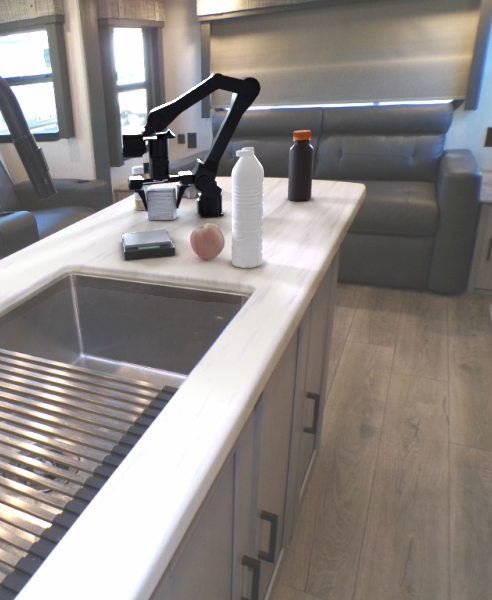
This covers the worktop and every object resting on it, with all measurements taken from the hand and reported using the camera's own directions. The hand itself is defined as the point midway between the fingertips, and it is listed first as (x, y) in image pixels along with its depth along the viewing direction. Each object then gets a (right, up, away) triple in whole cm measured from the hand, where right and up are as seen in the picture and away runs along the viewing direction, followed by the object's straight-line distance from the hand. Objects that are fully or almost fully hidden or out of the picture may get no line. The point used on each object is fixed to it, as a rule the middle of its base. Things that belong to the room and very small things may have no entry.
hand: (162, 209), depth 158 cm
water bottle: (+15, -19, -40) cm, 47 cm away
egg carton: (+13, +9, +26) cm, 31 cm away
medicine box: (0, -3, +1) cm, 3 cm away
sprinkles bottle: (-5, +3, +14) cm, 15 cm away
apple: (+7, -17, -34) cm, 39 cm away
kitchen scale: (-6, -14, -24) cm, 28 cm away
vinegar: (+43, +4, +7) cm, 44 cm away
